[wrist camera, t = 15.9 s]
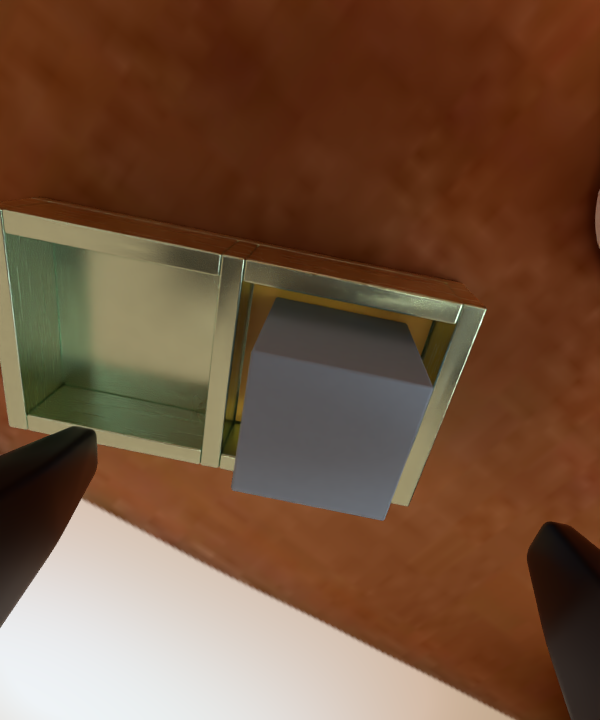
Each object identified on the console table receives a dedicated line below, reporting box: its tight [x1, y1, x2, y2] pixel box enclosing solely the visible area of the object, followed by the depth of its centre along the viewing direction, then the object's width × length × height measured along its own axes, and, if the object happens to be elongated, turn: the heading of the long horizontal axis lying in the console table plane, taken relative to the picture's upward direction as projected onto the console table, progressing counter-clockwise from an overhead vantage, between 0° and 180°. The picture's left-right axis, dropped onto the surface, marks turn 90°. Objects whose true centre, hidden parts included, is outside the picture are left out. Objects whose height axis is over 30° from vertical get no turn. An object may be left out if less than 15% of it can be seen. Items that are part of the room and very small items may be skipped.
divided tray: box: [0, 197, 487, 506], centre depth 13 cm, size 13×7×2 cm, turn 80°
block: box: [231, 297, 433, 521], centre depth 12 cm, size 4×4×4 cm
